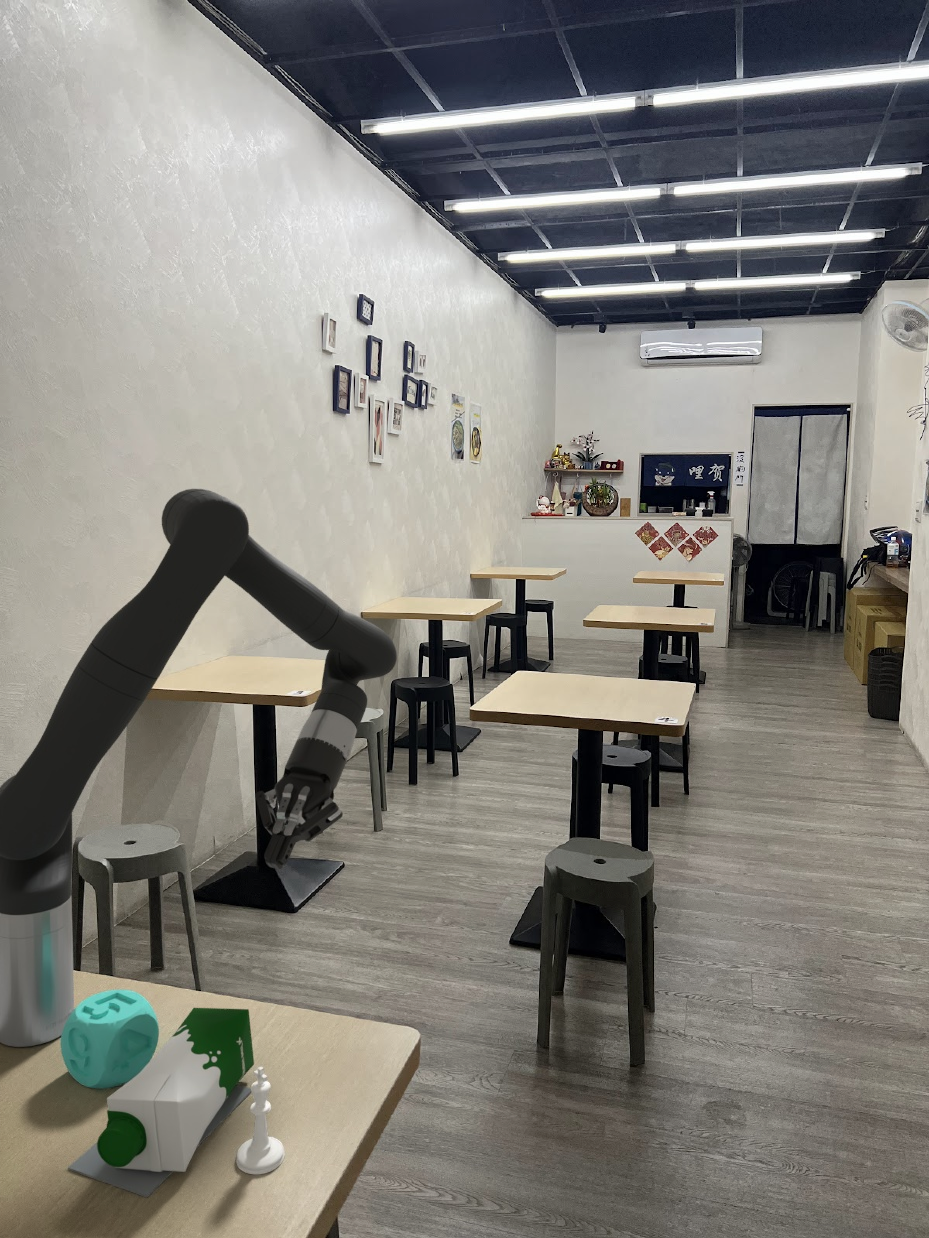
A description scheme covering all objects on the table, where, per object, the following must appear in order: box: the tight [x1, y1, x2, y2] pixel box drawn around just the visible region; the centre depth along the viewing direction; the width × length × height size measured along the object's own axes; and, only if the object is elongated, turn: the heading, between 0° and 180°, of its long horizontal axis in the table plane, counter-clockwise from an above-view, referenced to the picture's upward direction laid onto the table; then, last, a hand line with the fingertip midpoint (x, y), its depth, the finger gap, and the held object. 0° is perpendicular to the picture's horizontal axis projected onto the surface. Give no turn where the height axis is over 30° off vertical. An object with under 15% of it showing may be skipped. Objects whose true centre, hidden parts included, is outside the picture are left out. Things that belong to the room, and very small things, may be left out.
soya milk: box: [96, 1007, 255, 1173], centre depth 98 cm, size 9×9×20 cm
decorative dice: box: [60, 989, 160, 1090], centre depth 108 cm, size 8×8×8 cm
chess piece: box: [235, 1066, 285, 1175], centre depth 94 cm, size 5×5×10 cm
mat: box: [67, 1084, 252, 1198], centre depth 98 cm, size 10×18×1 cm, turn 159°
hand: (272, 865), depth 115 cm, fingers closed
